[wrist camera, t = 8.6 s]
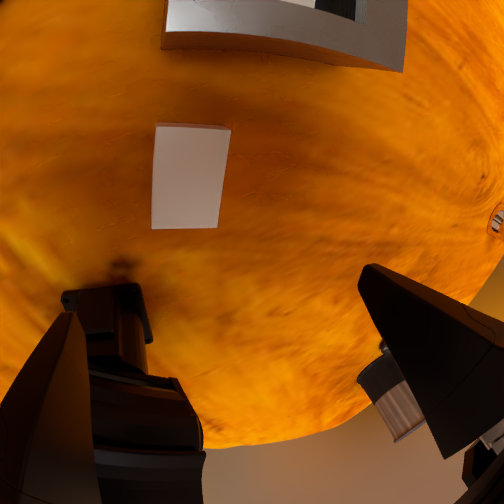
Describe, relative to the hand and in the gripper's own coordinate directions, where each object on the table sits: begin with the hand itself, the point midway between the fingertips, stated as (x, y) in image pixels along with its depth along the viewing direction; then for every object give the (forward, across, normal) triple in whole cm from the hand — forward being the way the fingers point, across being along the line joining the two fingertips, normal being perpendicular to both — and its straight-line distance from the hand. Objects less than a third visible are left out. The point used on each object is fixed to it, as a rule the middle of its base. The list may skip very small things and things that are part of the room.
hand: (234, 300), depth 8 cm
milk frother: (+11, -31, +32) cm, 46 cm away
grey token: (+12, 0, 0) cm, 12 cm away
